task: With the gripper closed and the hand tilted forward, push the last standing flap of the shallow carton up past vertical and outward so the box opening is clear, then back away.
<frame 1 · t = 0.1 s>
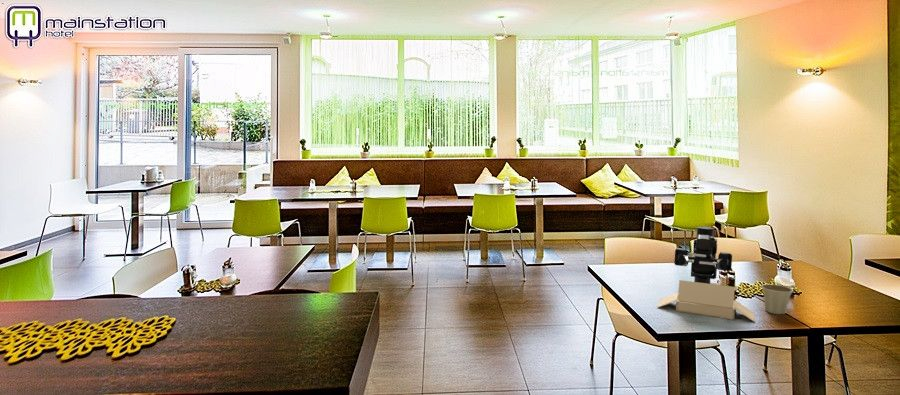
hand: (701, 264, 184), 17 cm above the table, tool horizontal, fingers open, 9 cm apart
flower pot: (775, 312, 184), on the table
flap: (705, 293, 179), point 7 cm above the table, hinge at -15.0°
carton: (704, 310, 185), on the table
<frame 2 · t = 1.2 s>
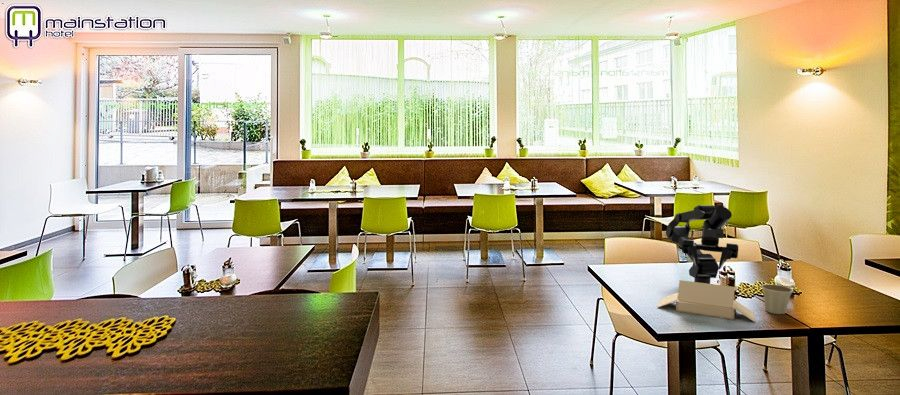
hand: (707, 267, 191), 14 cm above the table, tool tilted 45°, fingers open, 7 cm apart
nothing on the table moved.
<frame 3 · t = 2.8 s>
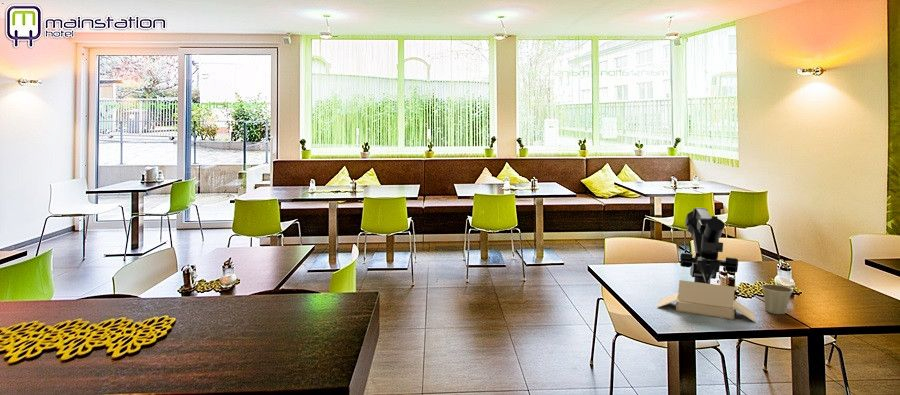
hand: (706, 282, 186), 10 cm above the table, tool tilted 45°, fingers closed
nothing on the table moved.
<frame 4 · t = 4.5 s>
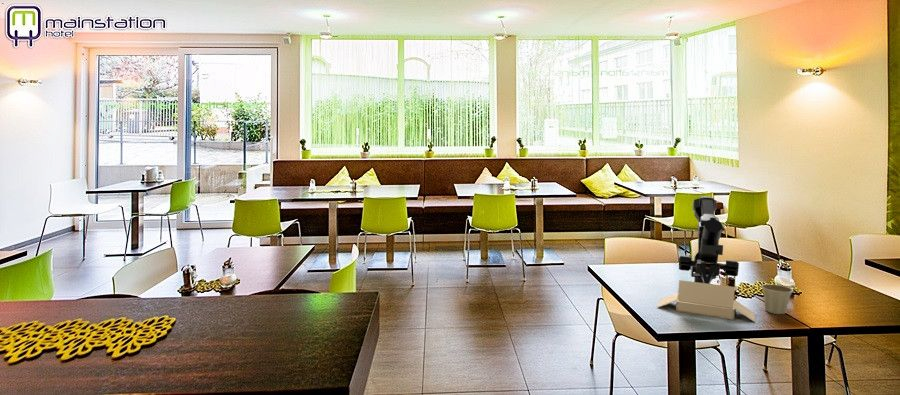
hand: (706, 286, 179), 10 cm above the table, tool tilted 45°, fingers closed, pressing on flap
flap: (705, 293, 179), point 8 cm above the table, hinge at -7.9°, touching gripper
everything else where it was.
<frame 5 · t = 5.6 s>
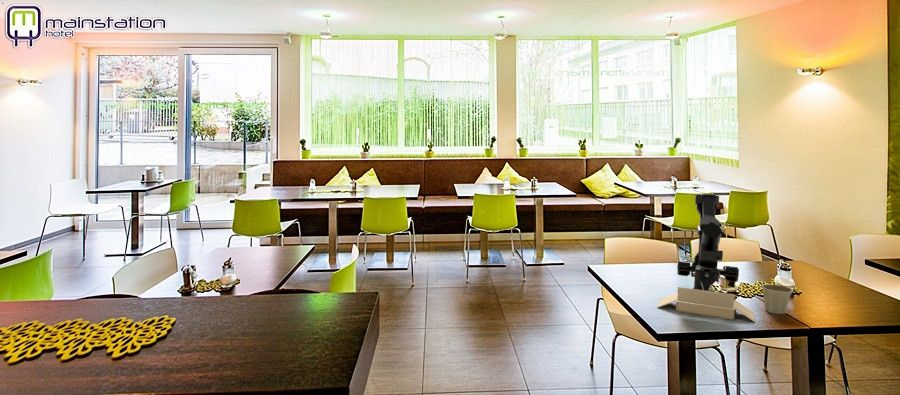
hand: (705, 293, 175), 9 cm above the table, tool tilted 45°, fingers closed, pressing on flap
flap: (705, 297, 176), point 7 cm above the table, hinge at 36.6°, touching gripper
everything else where it was.
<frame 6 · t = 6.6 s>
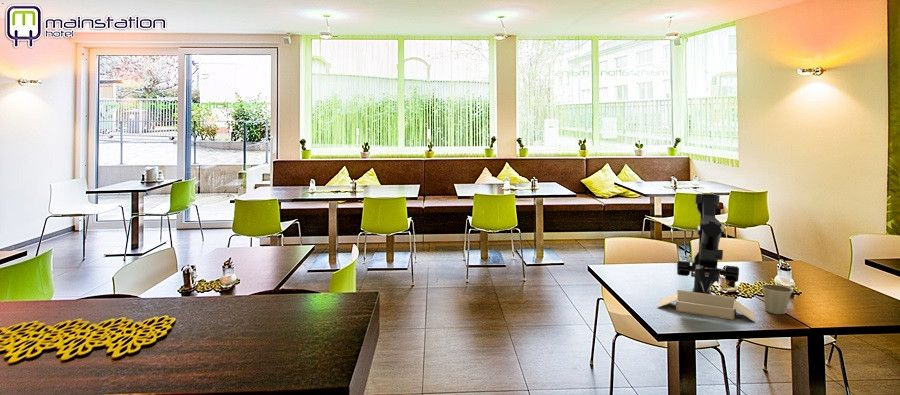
hand: (705, 292, 173), 10 cm above the table, tool tilted 45°, fingers closed
flap: (705, 299, 176), point 6 cm above the table, hinge at 46.2°
everything else where it was.
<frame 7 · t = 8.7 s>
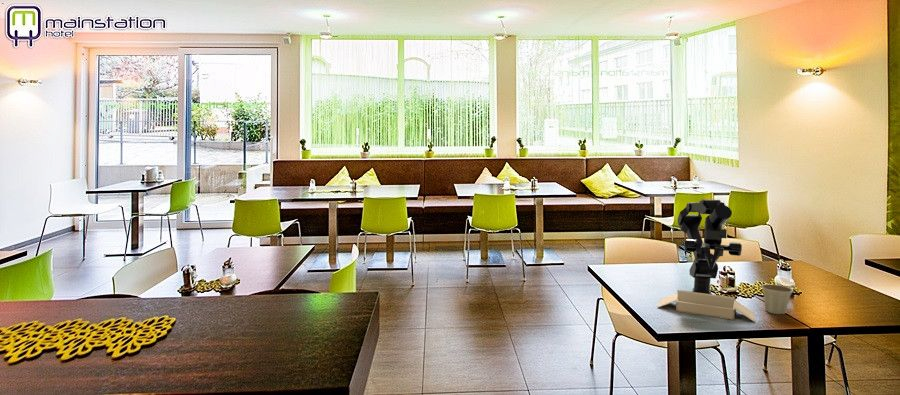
hand: (711, 268, 190), 14 cm above the table, tool tilted 35°, fingers closed
nothing on the table moved.
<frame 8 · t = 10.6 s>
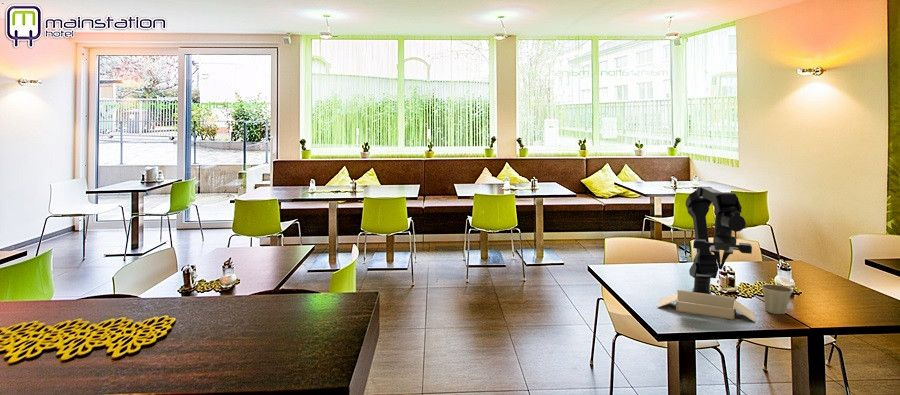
hand: (720, 269, 191), 13 cm above the table, tool pointing down, fingers closed
nothing on the table moved.
at the end: flap at +46° (first picture: -15°); flap touching nothing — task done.
